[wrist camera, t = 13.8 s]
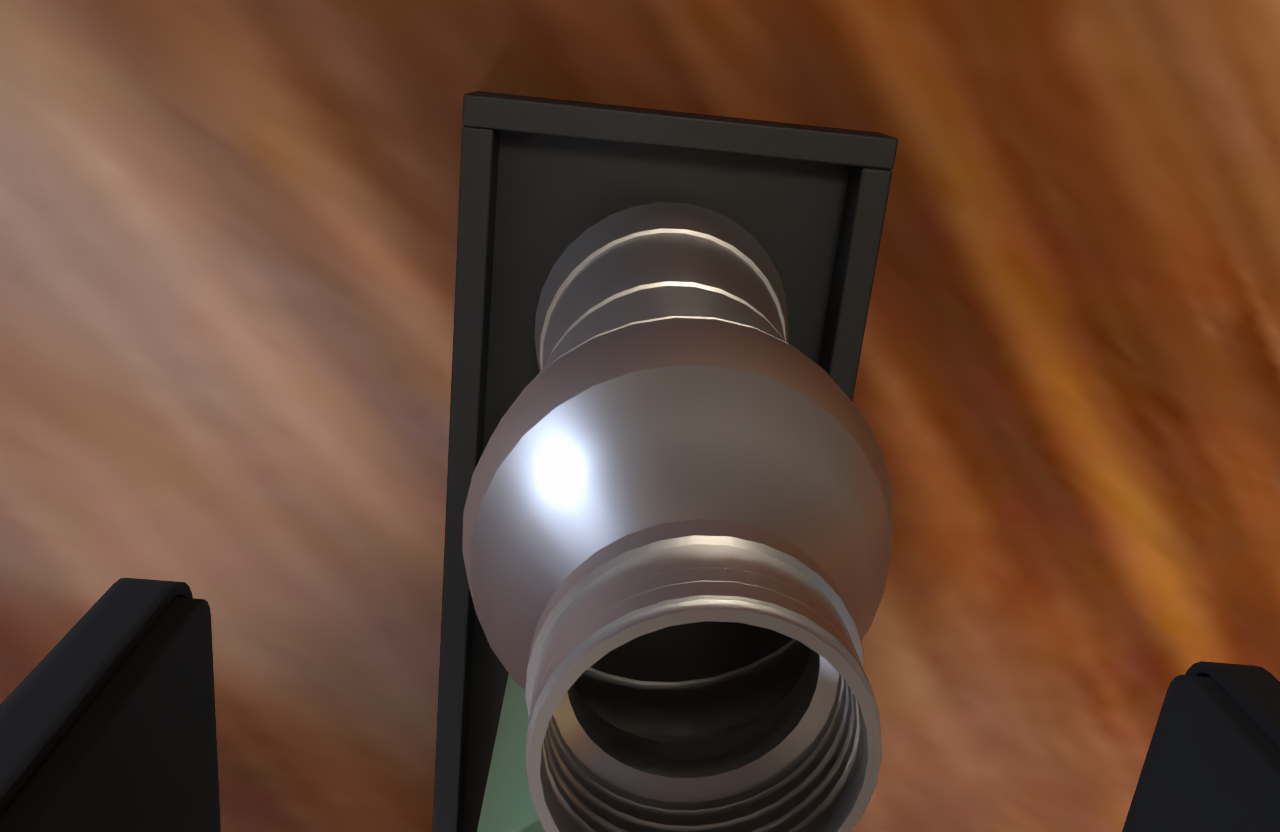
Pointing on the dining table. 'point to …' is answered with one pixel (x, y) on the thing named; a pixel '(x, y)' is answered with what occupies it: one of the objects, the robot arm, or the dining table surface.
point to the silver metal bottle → (682, 544)
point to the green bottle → (509, 771)
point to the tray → (536, 238)
